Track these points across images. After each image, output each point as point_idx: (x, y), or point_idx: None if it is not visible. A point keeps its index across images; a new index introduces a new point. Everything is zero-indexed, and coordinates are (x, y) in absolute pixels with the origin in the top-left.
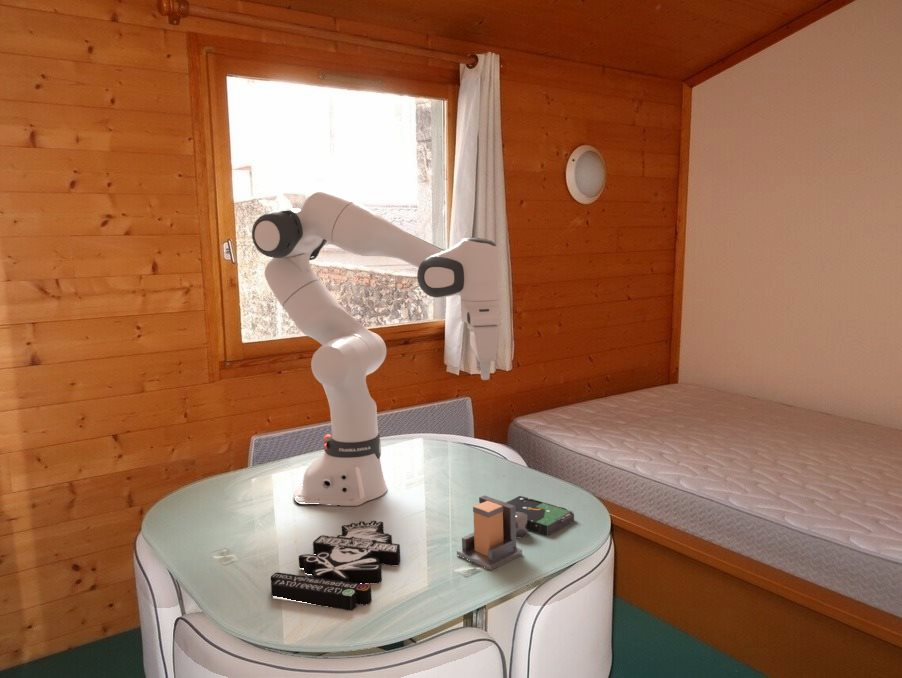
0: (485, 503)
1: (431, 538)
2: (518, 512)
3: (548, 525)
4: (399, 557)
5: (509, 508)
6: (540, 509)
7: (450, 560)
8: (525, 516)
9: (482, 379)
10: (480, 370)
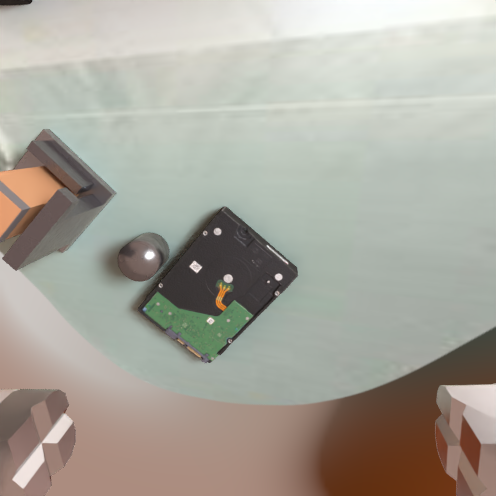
0: (3, 204)
1: (121, 69)
2: (154, 265)
3: (140, 311)
4: (6, 2)
5: (4, 256)
6: (218, 307)
7: (30, 116)
8: (133, 277)
9: (3, 392)
10: (443, 411)
